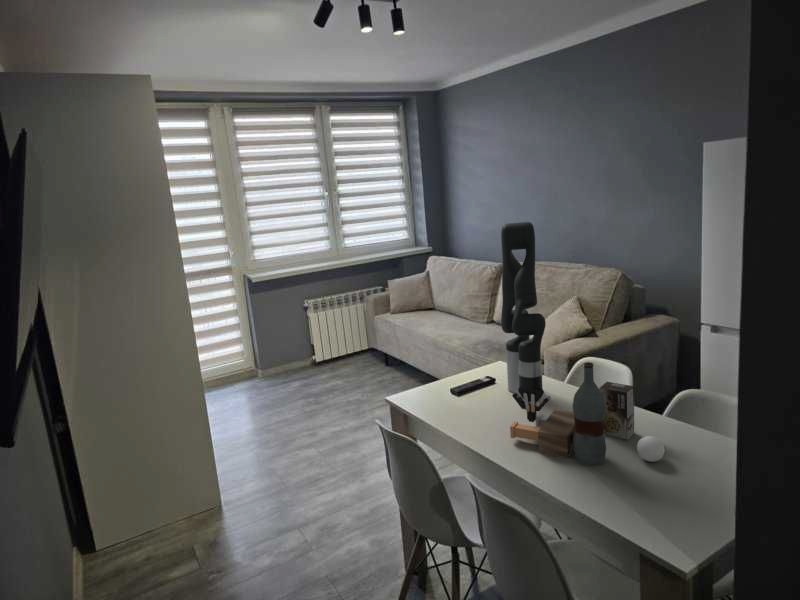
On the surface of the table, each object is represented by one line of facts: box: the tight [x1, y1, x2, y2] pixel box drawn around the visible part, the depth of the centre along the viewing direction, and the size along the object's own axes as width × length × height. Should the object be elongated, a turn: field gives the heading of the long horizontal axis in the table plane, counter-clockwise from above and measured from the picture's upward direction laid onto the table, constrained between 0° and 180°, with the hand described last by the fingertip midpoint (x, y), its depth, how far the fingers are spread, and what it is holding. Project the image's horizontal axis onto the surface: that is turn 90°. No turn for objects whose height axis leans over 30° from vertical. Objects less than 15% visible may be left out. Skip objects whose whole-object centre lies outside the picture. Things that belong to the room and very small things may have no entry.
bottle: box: [572, 361, 607, 467], centre depth 157 cm, size 9×9×30 cm
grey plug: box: [535, 412, 550, 428], centre depth 175 cm, size 4×13×4 cm, turn 58°
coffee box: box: [598, 381, 635, 440], centre depth 172 cm, size 9×6×16 cm
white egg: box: [634, 435, 665, 463], centre depth 157 cm, size 10×7×7 cm
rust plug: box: [509, 421, 540, 442], centre depth 171 cm, size 4×13×4 cm, turn 58°
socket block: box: [537, 408, 575, 458], centre depth 170 cm, size 18×9×7 cm, turn 148°
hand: (531, 421), depth 180 cm, fingers closed
